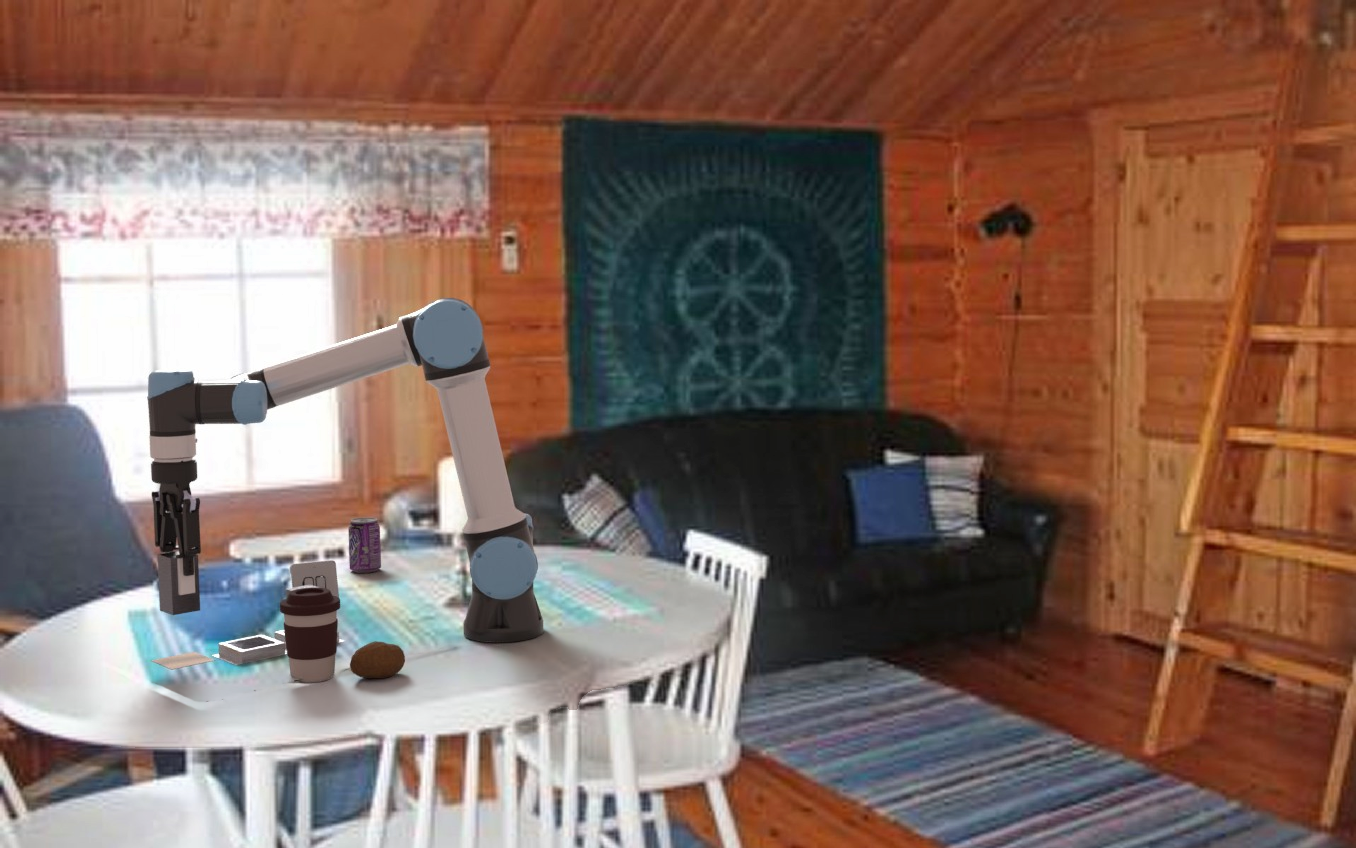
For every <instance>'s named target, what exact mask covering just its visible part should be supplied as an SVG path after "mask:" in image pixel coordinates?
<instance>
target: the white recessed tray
mask: <svg viewBox="0 0 1356 848" xmlns="http://www.w3.org/2000/svg"><path fill="white" fill-rule="evenodd" d="M273 634H274V638H272V637H270V636H267V635H265V634H257V635H252V636H247V637H242V638H238V639H233V640H228V641H222V642H218V653H216V654H212V655H211V657H214V658H217V659H219V660H221V661H224V662H227V663H229V664H232V665H234V666H239V665H242V664H243V665H244V664H248V663H251V662H252V663H253V662H257V661H262V660H267V659H272V658H276V657H279V656H280V657H281V656H285V655H287V650H286V641H285V632H284V629H282V630H278V631H274V633H273ZM345 642H346V640H345V639H341V638H340V631H339V630H337V644H341V643H345Z"/></svg>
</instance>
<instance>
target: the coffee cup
mask: <svg viewBox="0 0 1356 848" xmlns="http://www.w3.org/2000/svg"><path fill="white" fill-rule="evenodd" d="M340 608H341V599H340V597H339V598H338V597H336V596H333V595H332V593H331V591H330V590H329V589H327V588H320V587H311V588H301V589H296V590H293V591H291V592H290V593H289V595H288V597H287V598H286V597H285V599H282V600H281V601H280V602H279V611H280V613H281V614H283V619H284V622H283V630H284V632H285V641H286V650H287V654H286V656H287V657H288V663H289V664H288V665H289V674H290V676H292V677H293V678H297V679H294V680H293V681H294V682H297V683H302V684H311V683H313V684H314V683H322V682H325V681H328V680H330V679H333V677H334V676H335V674H336V673H335V671H336V669H335V668H336V653H337V649H338V643H337V631H338V625H339V623H338V622H339V621H338V617H337V614H338V613H337V612H338V611H339V609H340Z"/></svg>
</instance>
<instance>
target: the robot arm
mask: <svg viewBox="0 0 1356 848" xmlns="http://www.w3.org/2000/svg"><path fill="white" fill-rule="evenodd" d="M407 365H412V366H414V367H415V368H418V367H422V370H423V374H424V378H425V381H426V383H427V384H428V385H430V386H432V387H433V388H435V390H436V391H437V396H438V400H439V404H440V408H441V412H442V417H443V420H444V424H445V430H446V432H447V437H448V442H449V445H450V450H451V454H452V458H453V461H454V466H455V471H456V475H457V479H458V483H459V486H460V491H461V494H462V500H463V504H464V507H465V512H466V516H467V521H466V522H465V524H464V526H463V528H462V529H461V531H462V536H463V540H464V544H465V550H466V551H467V552H466V553H467V557H468V562H469V574H470V578H471V595H470V596H471V597H470V600H469V604H468V607H467V612H466V615H465V619H464V621H463V635H464V637H465V638H466V639H469V640H472V641H475V642H476V641H477V642H485V643H513V642H514V643H515V642H520V641H526V640H530V639H534V638H537V637H539V636H541V635H543V633H544V618H543V615H542V614H541V610H540V607H539V604H538V601H537V599H536V596H535V592H534V589H535V588H534V581H535V579H536V575H537V573H538V569H539V563H538V558H537V555H536V553H535V548H534V545H533V544H534V542H533V541H534V540H533V531H534V525H533V519H532V516H531V515H530V514H528V513H524V512H523V511H521V510H519V508H518V509H517V507H516V506H515V501H514V497H513V494H512V490H511V484H510V481H509V476H508V473H507V468H506V464H505V459H504V455H503V451H502V446H501V443H500V438H499V435H498V434H499V433H498V430H497V425H496V421H495V418H494V417H495V416H494V412H493V409H492V405H491V401H490V396H489V393H488V387H487V383H486V380H485V379H486V376H487V373H488V372H489V370H490V369H491V362H490V358H489V355H488V349H487V346H486V341H485V337H484V328H483V324H482V321H481V319H480V316H479V315H478V312H477V311H476V310H475V309H474V308H473V306H471V305H470V304H469V303H467V302H465V301H464V300H461V299H458V298H454V297H443V298H439V299H436V300H434V301H431V302H430V303H428V304H426V305H425V306H424V307H423V308H421V309H419V310H417V311H415V312H412V313H410V314H406V315H403V316H400V317H399V318H398V320H397V322H396V324H393V325H391V326H388V327H387V326H386V327H384V328H382V329H378V330H375V331H372V332H369V333H365V334H363V335H360V336H356V337H353V338H351V339H346V340H344V341H341V342H338V343H335V344H332V345H329V346H325V347H323V348H319V349H316V350H313V351H309V352H307V353H304V354H300V355H298V356H295V357H294V356H293V357H292V358H289V359H286V360H283V361H280V362H279V361H278V362H276V363H272V364H270V365H267V366H264V367H262V368H258V369H255V370H252V371H249V372H245V373H244V372H242V373H240V374H237V375H233V376H232V377H231V378H230V379H229V378H228V379H227V380H212V381H208V380H207V381H203V380H195V377H194V372H193V370H190V369H185V368H184V369H178V368H175V369H173V368H172V369H169V368H168V369H158V370H154V371H151V372H150V373H149V375H148V377H147V379H148V382H147V383H148V384H147V385H148V386H147V397H146V398H147V406H148V407H147V409H148V420H149V425H148V426H149V436H148V438H149V455H150V456H149V457H150V458H151V459H153V460H151V463H150V472H151V474H150V475H151V481H152V482H153V483H155V484H159V490H155V491H152V492H151V499H152V503H153V528H154V531H153V532H154V545H155V547H156V548H157V547H159V551H160V552H161V554H163V553H170V552H176V551H179V554H180V555H176V558H177V569H178V593H179V595H184V594H190V593H195V572H194V556H196V554H198V555H199V554H201V553H202V552H201V551H202V550H201V549H202V547H201V530H200V529H201V528H200V527H201V526H200V523H201V522H200V506H201V500H200V497H193V496H192V491H191V487H190V484H191V483H192V482H195V481H197V479H198V462H197V460H196V459H195V458H194V457H195V456H196V455H197V443H198V437H196V432H197V431H196V425H226V424H227V425H228V424H229V425H231V424H232V425H236V424H237V425H243V426H247V425H249V424H260V423H263V422H264V421H265V420H266V417H267V414H268V410H271V409H274V408H276V407H279V406H283V405H285V404H289V403H291V402H294V401H297V400H301V399H304V398H307V397H311V396H313V395H317V394H320V393H323V392H326V391H329V390H332V389H335V388H338V387H341V386H344V385H347V384H350V383H354V382H356V381H359V380H362V379H367V378H368V377H372V376H375V375H379V374H382V373H385V372H389V371H390V370H394V369H397V368H400V367H402V366H407Z"/></svg>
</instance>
